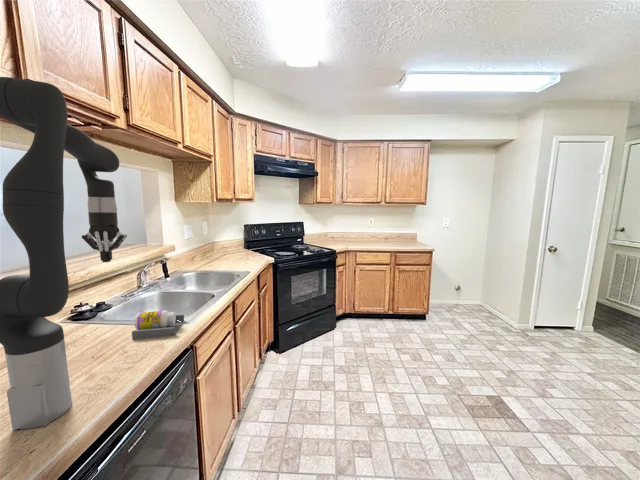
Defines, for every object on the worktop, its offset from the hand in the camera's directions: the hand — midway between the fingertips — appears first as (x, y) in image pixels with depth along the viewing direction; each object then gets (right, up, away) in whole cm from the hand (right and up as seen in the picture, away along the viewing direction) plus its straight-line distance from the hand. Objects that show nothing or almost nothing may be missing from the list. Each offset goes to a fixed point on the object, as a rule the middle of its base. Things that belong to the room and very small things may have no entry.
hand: (106, 261), depth 92 cm
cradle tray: (+11, -28, +13) cm, 32 cm away
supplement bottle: (+3, -24, +11) cm, 26 cm away
